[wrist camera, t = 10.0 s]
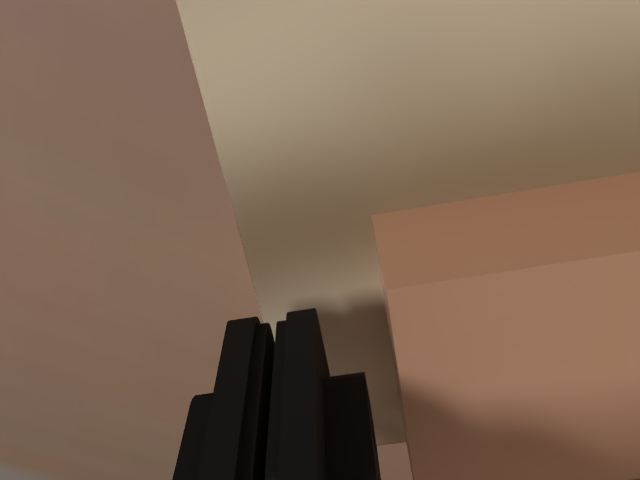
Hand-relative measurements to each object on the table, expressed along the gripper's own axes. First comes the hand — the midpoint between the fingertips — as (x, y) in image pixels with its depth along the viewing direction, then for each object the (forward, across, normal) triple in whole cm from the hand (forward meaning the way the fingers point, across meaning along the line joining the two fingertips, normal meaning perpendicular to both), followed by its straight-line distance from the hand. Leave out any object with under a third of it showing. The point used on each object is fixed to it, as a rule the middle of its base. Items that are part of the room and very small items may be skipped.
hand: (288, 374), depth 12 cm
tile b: (+1, -4, 0) cm, 5 cm away
